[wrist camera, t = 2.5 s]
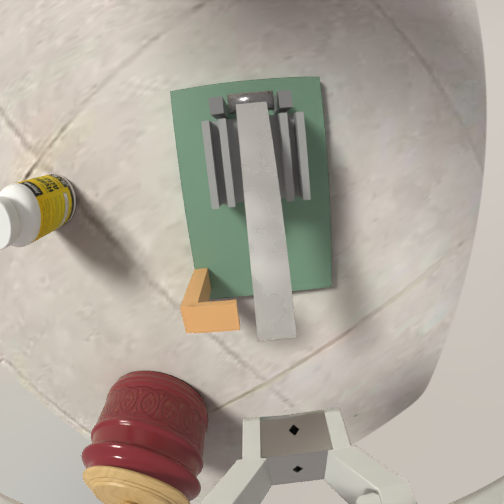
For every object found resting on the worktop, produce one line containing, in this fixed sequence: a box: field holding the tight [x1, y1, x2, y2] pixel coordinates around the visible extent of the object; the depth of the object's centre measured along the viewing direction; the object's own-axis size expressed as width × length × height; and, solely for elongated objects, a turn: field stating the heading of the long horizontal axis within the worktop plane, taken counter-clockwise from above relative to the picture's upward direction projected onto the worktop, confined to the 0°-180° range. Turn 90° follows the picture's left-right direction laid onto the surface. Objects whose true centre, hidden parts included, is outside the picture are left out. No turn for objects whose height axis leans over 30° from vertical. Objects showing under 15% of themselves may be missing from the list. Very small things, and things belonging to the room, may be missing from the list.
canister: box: [82, 371, 208, 504], centre depth 28 cm, size 13×13×18 cm
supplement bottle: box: [0, 174, 76, 249], centre depth 23 cm, size 5×5×10 cm
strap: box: [227, 90, 297, 341], centre depth 18 cm, size 16×3×1 cm
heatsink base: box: [170, 77, 331, 299], centre depth 24 cm, size 19×12×6 cm, turn 6°
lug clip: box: [180, 268, 240, 333], centre depth 26 cm, size 2×4×7 cm, turn 96°
